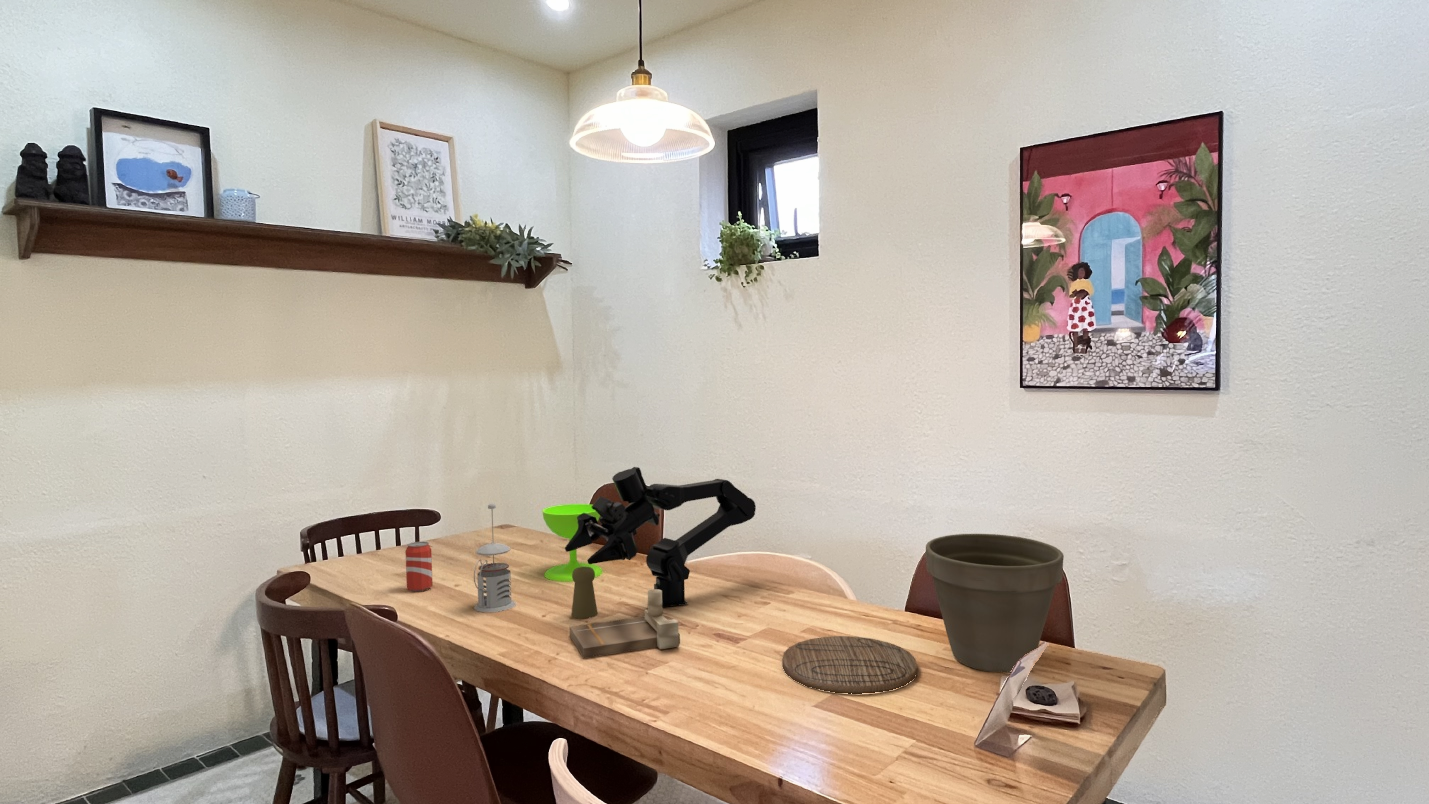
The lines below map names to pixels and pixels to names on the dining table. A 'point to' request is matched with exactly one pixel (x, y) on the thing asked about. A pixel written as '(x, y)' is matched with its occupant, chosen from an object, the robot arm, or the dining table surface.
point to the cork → (583, 593)
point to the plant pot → (993, 595)
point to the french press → (493, 578)
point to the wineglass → (567, 536)
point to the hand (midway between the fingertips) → (576, 556)
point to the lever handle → (661, 621)
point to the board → (614, 637)
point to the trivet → (849, 664)
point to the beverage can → (418, 566)
